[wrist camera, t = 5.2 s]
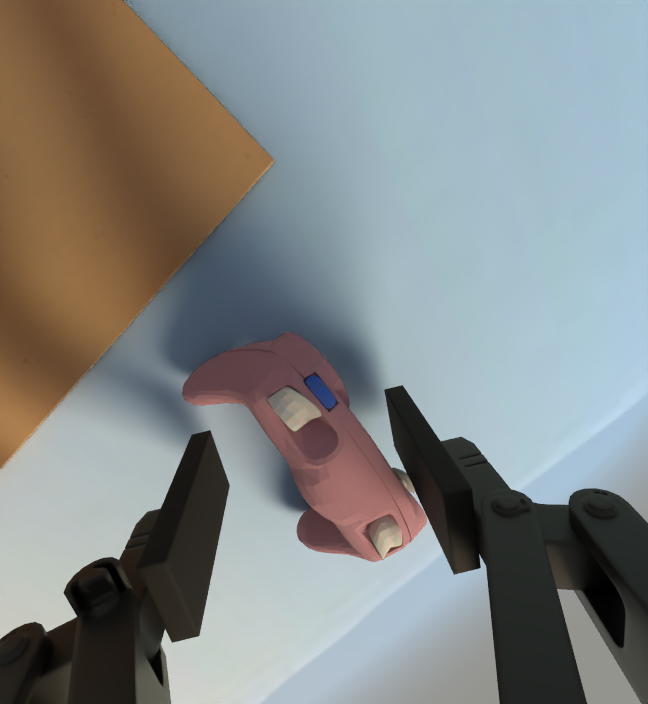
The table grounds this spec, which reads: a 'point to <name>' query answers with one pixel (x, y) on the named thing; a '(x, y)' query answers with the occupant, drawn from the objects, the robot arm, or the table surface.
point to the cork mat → (97, 189)
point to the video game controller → (316, 445)
